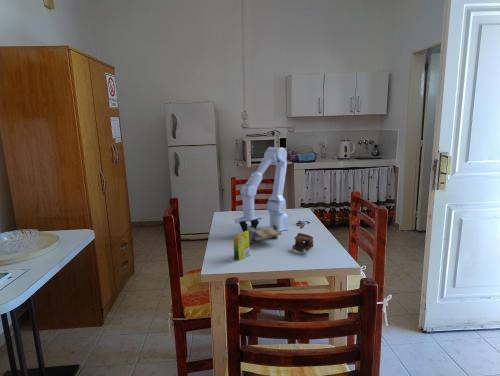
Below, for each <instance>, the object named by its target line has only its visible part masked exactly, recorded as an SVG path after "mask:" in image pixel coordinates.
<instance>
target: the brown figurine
mask: <svg viewBox="0 0 500 376" xmlns="http://www.w3.org/2000/svg"><path fill="white" fill-rule="evenodd" d="M294 240H295V242H294V244H292V251H297V252H300V253H304V250H305V251H306V252H308V251H310V250H311V248H314V237H313V236H312V235H309V234H305V233H300V232H298V233H297V235H296V236H295V237H294Z"/></svg>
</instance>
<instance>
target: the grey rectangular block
mask: <svg viewBox="0 0 500 376" xmlns="http://www.w3.org/2000/svg"><path fill="white" fill-rule="evenodd" d="M251 229H254V227H252V226H251V225H247V230H251ZM252 238H255V237H252Z"/></svg>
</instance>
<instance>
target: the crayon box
mask: <svg viewBox="0 0 500 376" xmlns="http://www.w3.org/2000/svg"><path fill="white" fill-rule="evenodd" d="M232 239H233V256H234V258H233V260H235V261H241V260H243V259H245V258H247V257H249V256H250V245H249V230H247V231H244V232H243V231H242V232H239V233H237V235H236V236H234V237H233V238H232Z"/></svg>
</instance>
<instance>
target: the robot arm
mask: <svg viewBox="0 0 500 376" xmlns="http://www.w3.org/2000/svg"><path fill="white" fill-rule="evenodd" d="M265 150H266V151H265V152H264V153H263V154H264V155H263V159H262V160H261V162H260V164H259V166H258V168H257V170H256V171H254V172H252V173H251V174H250V177H249V178H248V180H247V181H246V182H245V184H244V185H242V186H241V188H240V190H239V193H240V195H241V198H242V217H238V218H234V223H235V224H239V226H240V228H241V230H242V232H244V231H247V226H249V225H248V223H247V222H250V226H252V227H254V229H256V228H257V227H258V225H259V224H260V221H262V220H263V215H261V214H258V215H257V214H256V215H255V196H256V195H257V190H258V188H259V185H260V184H261V182H262V181H263V174H264V173H265V172H266V171H267V169H268V168H269V166H270V165H271V164H272V163H273V164H274V165H275V173H274V178H273V179H274V182H273V187H272V195H270V196H269V197H268V201H267V202H266V203H267V204H266V209H267V212H268V214H269V227H267V228H273V225H276V226H278V231H279V232H282V231H287V230H290V228H289V216H288V213H286V210H287V205H286V199H285V198H284V196H283V195H284V190H285V189H284V187H285V181H286V175H287V174H286V173H287V166H288V162H287V161H288V160H287V157H288V155H287V154H288V152H287V151H286V149H285V148H284V147H272V146H269V147H267V148H266V149H265ZM259 220H260V221H259Z"/></svg>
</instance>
